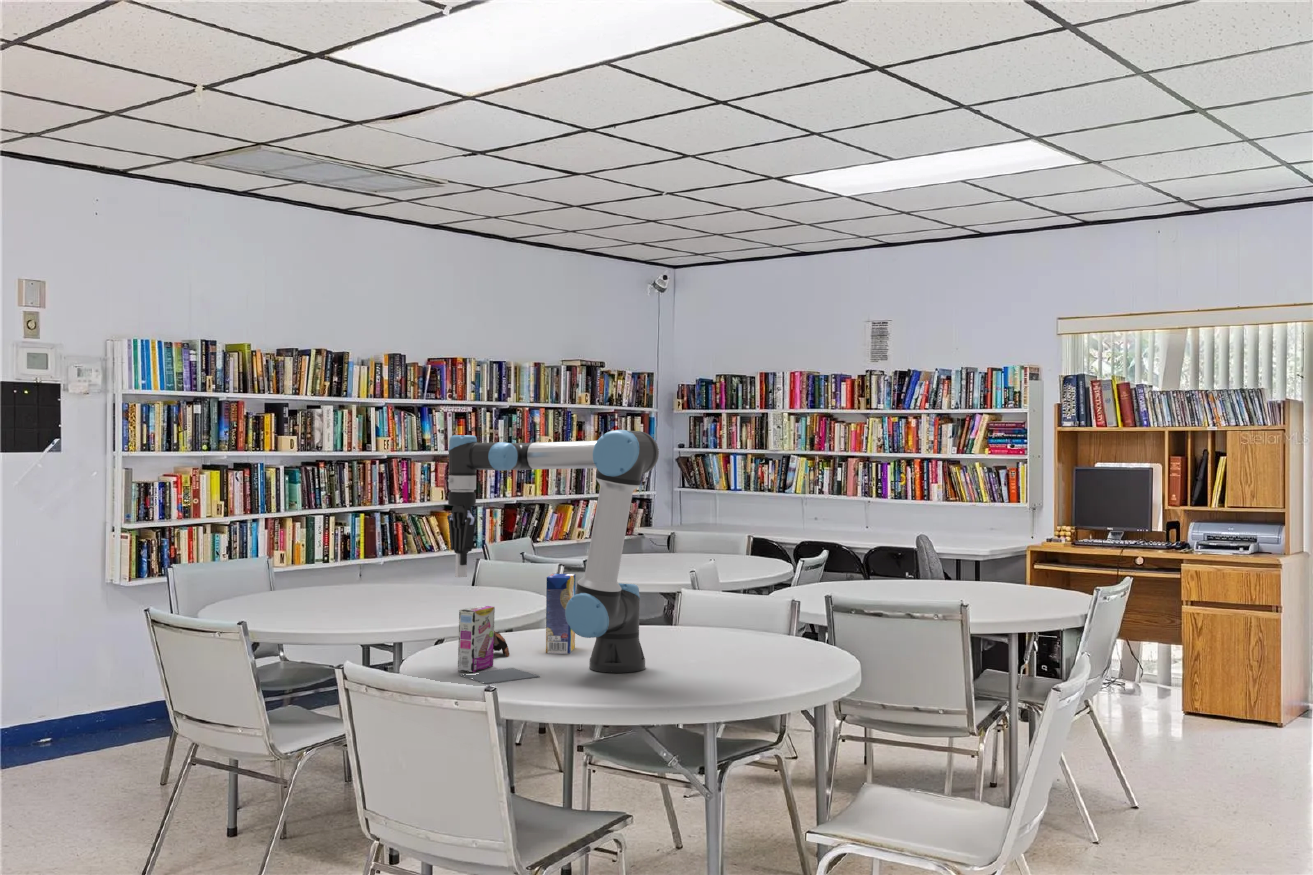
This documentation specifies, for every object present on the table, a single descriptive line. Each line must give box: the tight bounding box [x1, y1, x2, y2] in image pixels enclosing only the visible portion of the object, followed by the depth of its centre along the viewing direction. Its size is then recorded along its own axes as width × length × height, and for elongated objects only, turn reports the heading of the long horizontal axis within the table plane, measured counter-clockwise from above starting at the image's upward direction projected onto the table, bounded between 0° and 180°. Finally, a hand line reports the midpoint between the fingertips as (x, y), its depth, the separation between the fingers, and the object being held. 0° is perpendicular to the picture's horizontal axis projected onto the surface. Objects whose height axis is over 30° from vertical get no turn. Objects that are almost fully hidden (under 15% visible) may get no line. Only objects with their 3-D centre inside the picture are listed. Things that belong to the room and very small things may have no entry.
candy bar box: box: [457, 605, 496, 673], centre depth 305 cm, size 11×5×16 cm, turn 159°
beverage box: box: [545, 573, 576, 655], centre depth 335 cm, size 7×11×22 cm, turn 175°
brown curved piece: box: [494, 630, 510, 658], centre depth 326 cm, size 12×10×8 cm
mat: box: [458, 667, 541, 685], centre depth 295 cm, size 14×16×1 cm
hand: (461, 576), depth 312 cm, fingers closed
